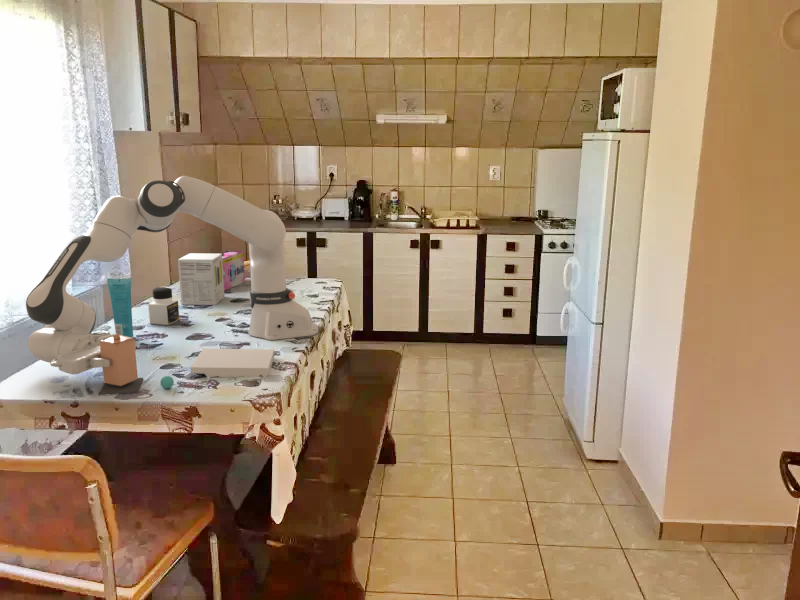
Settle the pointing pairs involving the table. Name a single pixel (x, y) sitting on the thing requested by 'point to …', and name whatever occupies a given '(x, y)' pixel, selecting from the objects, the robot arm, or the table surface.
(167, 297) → the medicine bottle
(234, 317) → the table surface
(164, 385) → the ball
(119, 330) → the tube
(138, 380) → the mat
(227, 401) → the table surface
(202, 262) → the supplement box
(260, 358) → the cream flat block
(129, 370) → the tan box with knob
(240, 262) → the gum box
